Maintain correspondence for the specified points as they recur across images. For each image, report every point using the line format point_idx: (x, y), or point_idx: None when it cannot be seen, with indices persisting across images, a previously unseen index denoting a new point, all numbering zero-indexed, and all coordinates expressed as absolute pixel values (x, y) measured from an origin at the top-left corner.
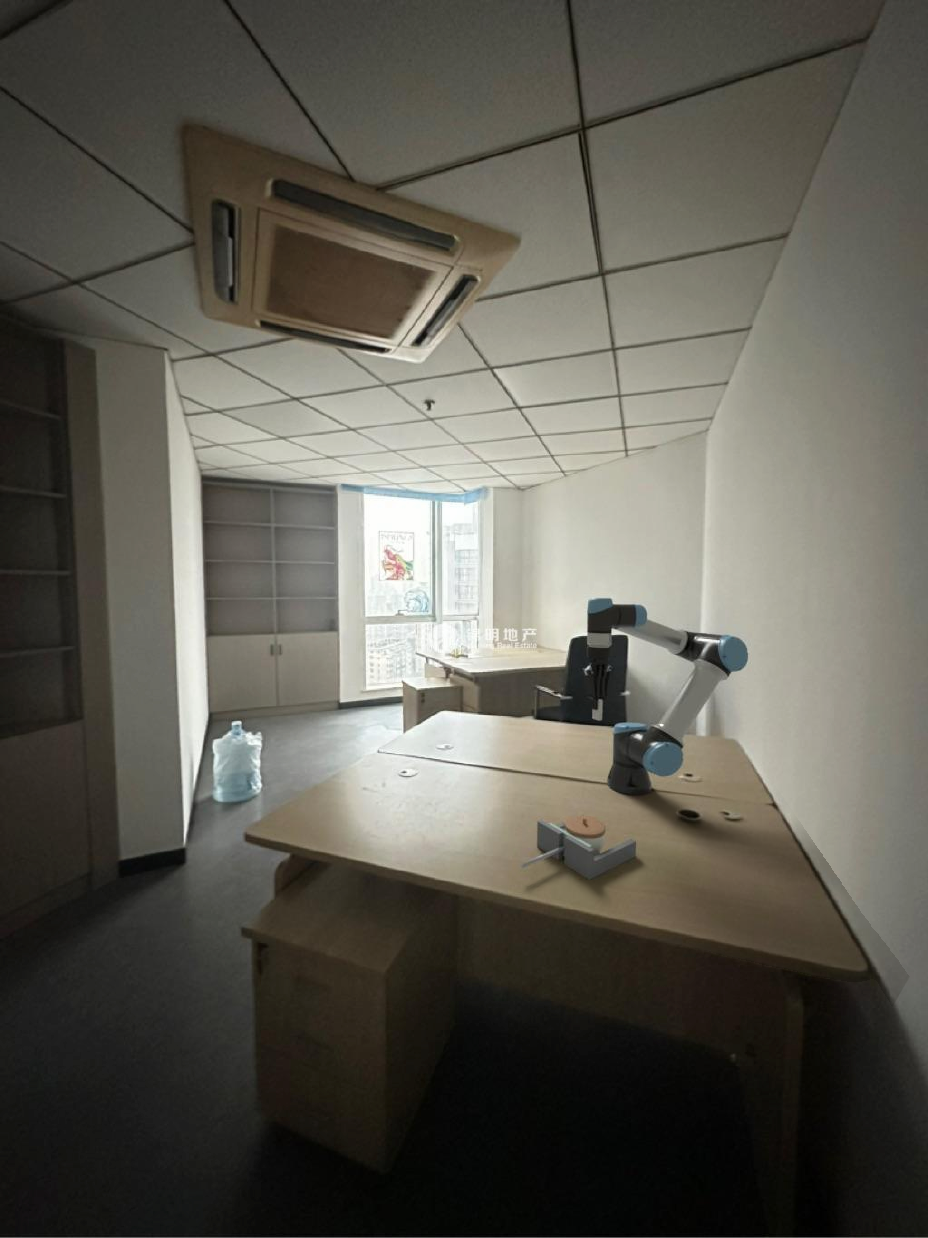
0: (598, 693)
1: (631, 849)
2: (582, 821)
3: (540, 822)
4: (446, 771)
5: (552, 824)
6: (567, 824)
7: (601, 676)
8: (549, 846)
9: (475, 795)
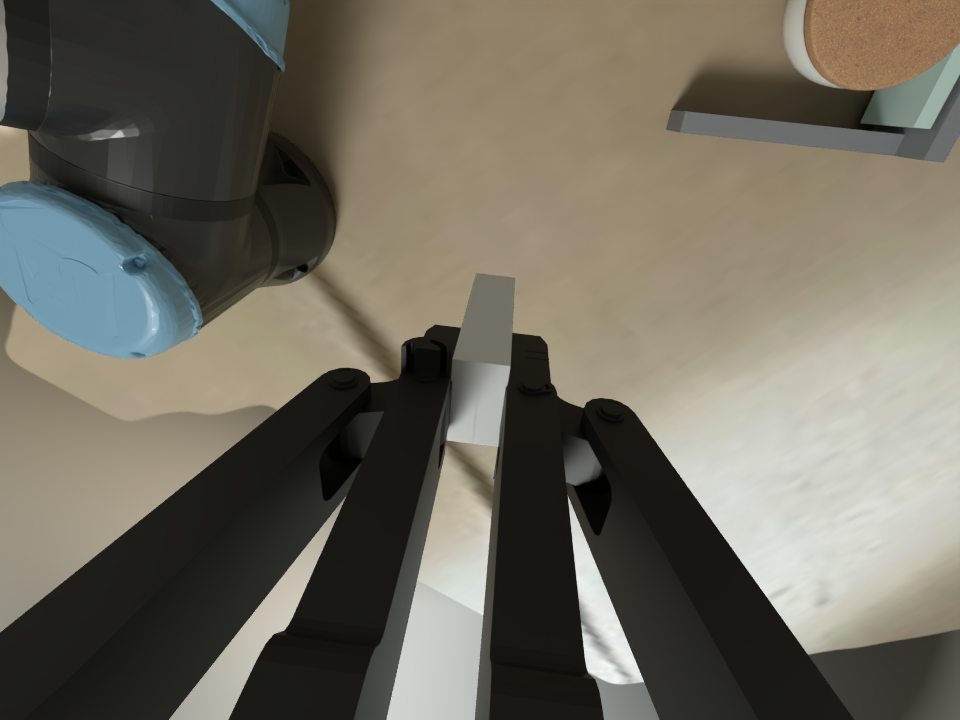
0: (526, 427)
1: None
2: (890, 11)
3: (949, 148)
4: None
5: (926, 112)
6: (950, 42)
7: (368, 715)
8: None
9: (686, 451)
